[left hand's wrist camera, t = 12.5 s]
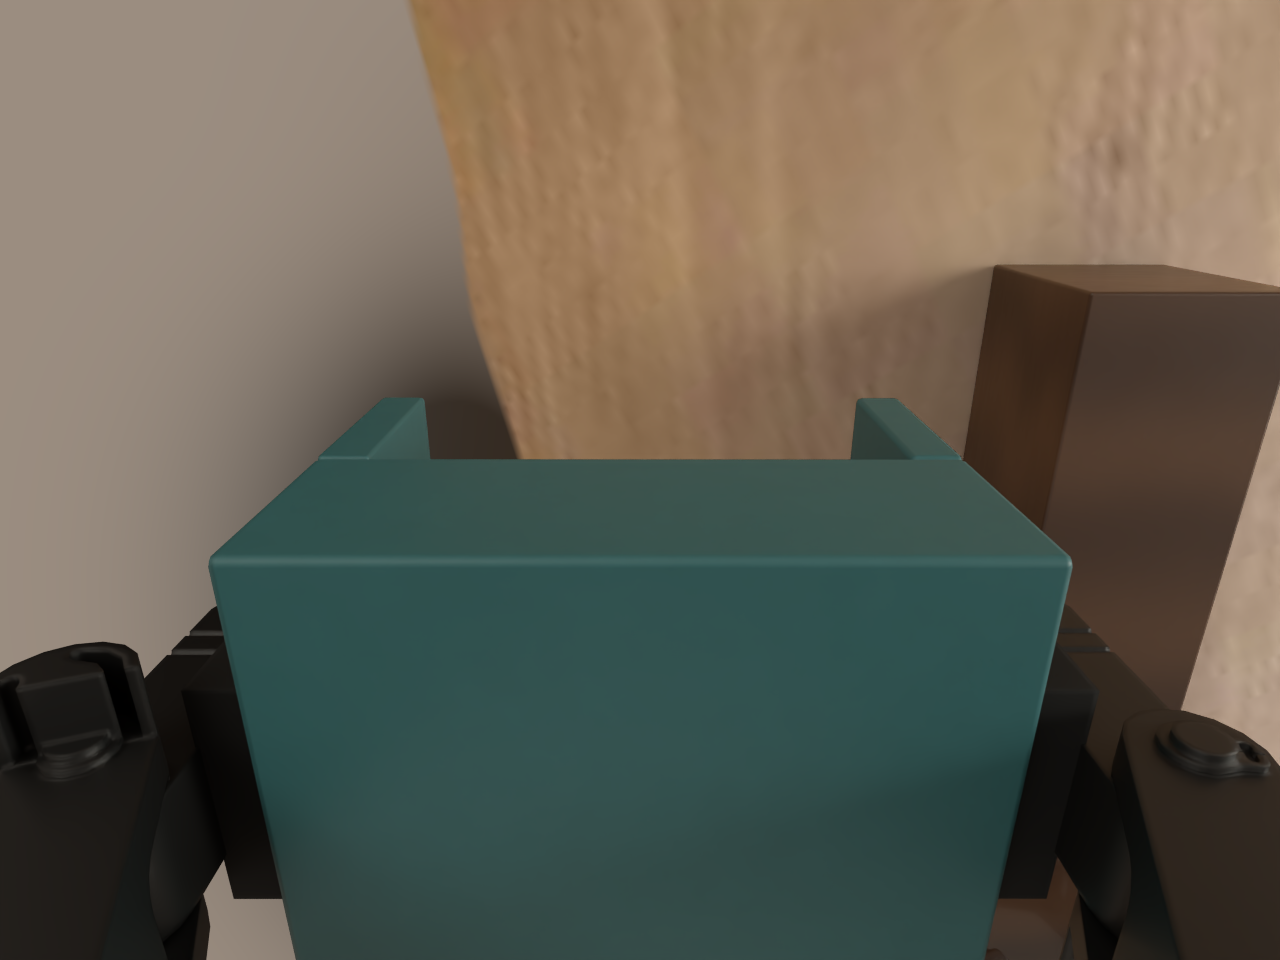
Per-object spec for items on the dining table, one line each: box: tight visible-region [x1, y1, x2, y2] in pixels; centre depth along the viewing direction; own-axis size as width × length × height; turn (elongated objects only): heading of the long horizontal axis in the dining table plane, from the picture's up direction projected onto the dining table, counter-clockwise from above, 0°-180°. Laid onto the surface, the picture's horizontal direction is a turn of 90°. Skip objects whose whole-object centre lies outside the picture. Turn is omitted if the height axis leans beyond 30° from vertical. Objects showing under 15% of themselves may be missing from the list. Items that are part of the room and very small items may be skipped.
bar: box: [963, 265, 1280, 960], centre depth 28 cm, size 26×6×6 cm, turn 0°
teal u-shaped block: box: [208, 398, 1073, 960], centre depth 10 cm, size 6×7×5 cm
